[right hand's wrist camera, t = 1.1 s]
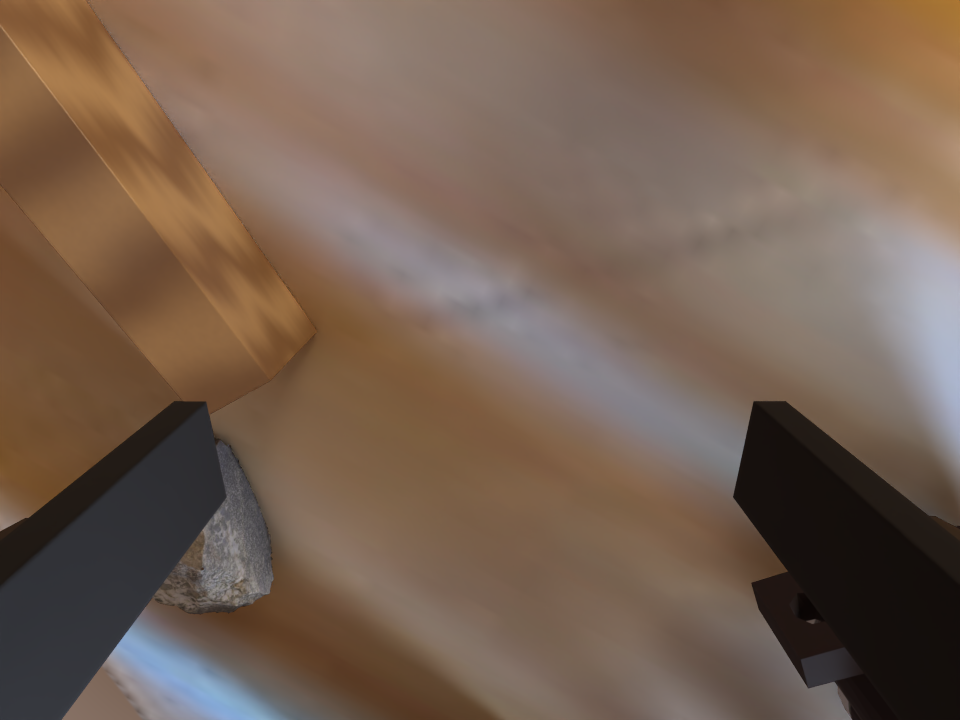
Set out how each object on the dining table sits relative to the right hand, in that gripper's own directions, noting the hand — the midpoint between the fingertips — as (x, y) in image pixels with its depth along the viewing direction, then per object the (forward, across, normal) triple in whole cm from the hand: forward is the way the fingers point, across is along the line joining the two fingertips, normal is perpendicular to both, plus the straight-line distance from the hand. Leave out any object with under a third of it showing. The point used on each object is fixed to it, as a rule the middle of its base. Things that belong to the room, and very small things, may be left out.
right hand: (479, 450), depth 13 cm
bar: (+20, +18, -6) cm, 28 cm away
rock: (+20, +20, +18) cm, 33 cm away
